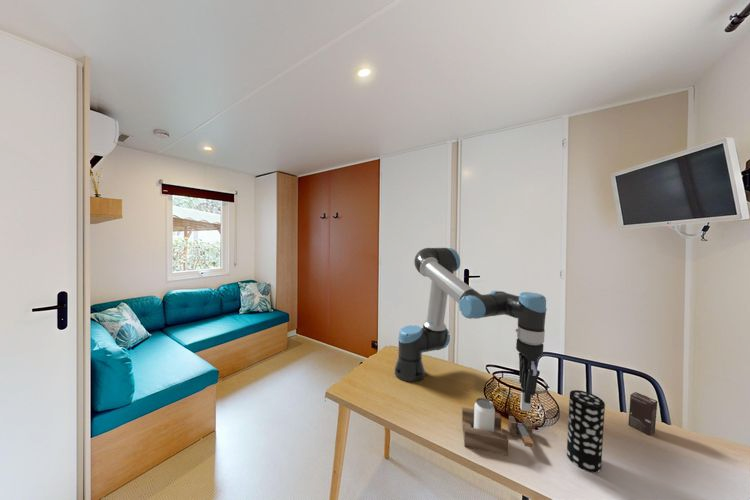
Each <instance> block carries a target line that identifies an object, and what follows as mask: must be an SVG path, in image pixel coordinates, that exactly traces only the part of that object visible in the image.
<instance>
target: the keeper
mask: <svg viewBox="0 0 750 500" xmlns="http://www.w3.org/2000/svg"><path fill="white" fill-rule="evenodd" d="M516 428H517V430H518V432H519V434H520V436H521V437H520V438H521V442H522V443H523V445H524V447H527V448H530V449H534V448H535V444H534V443H535V442H534V441H533V438H532V439H531V438H530V436H529V434H528V432H527V430H526V428H525V425H524V422H523V423H521V422H517V421H516Z"/></svg>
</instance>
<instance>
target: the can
mask: <svg viewBox="0 0 750 500" xmlns="http://www.w3.org/2000/svg"><path fill="white" fill-rule="evenodd" d="M494 406H495V405H494V403H493V402H492V401H491V400H490V399H487V398H484V397H478V398H477V399H476V400H475V403H474V408H473V409H474V427H473V428H476V429H481V430H486V431H491V432H494V419H495V413H496V411H495V407H494Z"/></svg>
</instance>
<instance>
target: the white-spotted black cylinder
mask: <svg viewBox="0 0 750 500" xmlns="http://www.w3.org/2000/svg"><path fill="white" fill-rule="evenodd" d="M605 407H606V403H605V401H604V400H603V399H601V398H600V397H599V396H597V395H595V394H592V393H590V392H588V391H583V390H577V389H575V390H570V392H569V403H568V419H567V420H568V423H567V424H568V425H567V440H566V441H567V443H566V456H567V458H568V459H569V460H570V462H571V463H572V464H574V465H575V466H577V467H578V468H580V469H581V470H584V471H585V472H588V473H589V472H590V473H594V472H596V473H599V472H598V471H600V470H602V461H603V459H602V458H603V457H602V456H603V445H604V444H603V442H604V440H603V439H604V428H605V427H604V426H605V410H606V408H605ZM600 472H601V471H600Z"/></svg>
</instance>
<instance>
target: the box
mask: <svg viewBox="0 0 750 500" xmlns="http://www.w3.org/2000/svg"><path fill="white" fill-rule="evenodd" d="M629 399H630V400H629V411H628V412H629V413H628V422H627V423H628V424H627V425H628V426H630V427H632V428H634V429H636V430H639V431H641V432H642V433H644V434H646V435H647V436H649V437H651V436H652V435H653V434H654V433H656V421H657V410H658V400H656V399H653V398H652V397H649V396H647V395H644V394H641V393H639V392H637V391H635V392H632V393H631V394H630V397H629Z"/></svg>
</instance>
